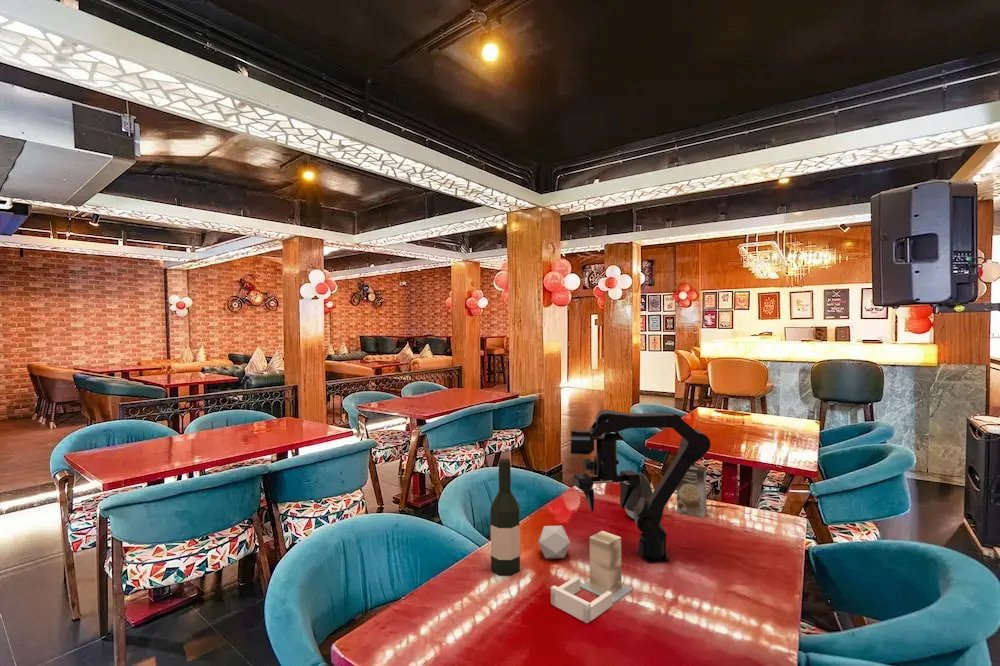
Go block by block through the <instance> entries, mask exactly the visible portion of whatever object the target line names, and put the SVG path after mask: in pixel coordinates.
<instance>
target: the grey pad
mask: <svg viewBox="0 0 1000 666" xmlns="http://www.w3.org/2000/svg"><path fill="white" fill-rule="evenodd" d="M580 589H581V590H582V589H583V590H584V591H587V592H588V593H591V594H593V595H595V596H597V597H599V596H601V595H602V594H603V593H601V592H599V591H597V590H594V589H592V588H590V579H589V580H587V581H585V582H584V583H582V584H580ZM633 590H634V588H633V587H631V586H629V585H627V584H624V583H622V588H620V589H619V590H617V591H616V592H614V593H613V594H612V604H616V603H617V602H618V601H620V600H621V599H623V598H624V597H625V596H627V595H628V594H629V593H631V592H633Z"/></svg>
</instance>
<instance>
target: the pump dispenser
mask: <svg viewBox="0 0 1000 666" xmlns="http://www.w3.org/2000/svg"><path fill="white" fill-rule="evenodd" d="M636 473H637V474H639V475H640V477H641V485H636V486H637V488H634V490H633V491H632V493H631V495H630V496H629V498H628V500H627V502H626V504H625V506H624V509H625V513H626V514H627V516H628V517H630V518H631V519H634V515H633V514H634V511H635V510H634V506H636V505H637V504H638V502H639V499H640V498H641V497H642V498H644V499H647V498H648V497H650V496H651V495H652V493H653V488H652V486H651V483H650V482H649V481H650V480H649V479H648V478H647V476H646V475H645V474H644V473H641V472H636ZM634 520H635V519H634Z"/></svg>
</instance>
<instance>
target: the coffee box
mask: <svg viewBox="0 0 1000 666" xmlns="http://www.w3.org/2000/svg"><path fill="white" fill-rule="evenodd" d="M676 513H677V514H682V515H687V516H693V517H696V518H701V519H703V518H705V516H706V513H707V466H700V465H694V464H692V465H691V467H690V468H689V470H688V471H687V473H686V474H685V476H684V477H683V479H682V481H681V482H680V484H679V485H678V487H677V488H676Z"/></svg>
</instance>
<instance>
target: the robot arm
mask: <svg viewBox="0 0 1000 666" xmlns="http://www.w3.org/2000/svg"><path fill="white" fill-rule="evenodd" d="M594 418H595V421H594V422H593V423H592V424H591V426H590V427H589V429H588V430H577V429H571V430H570V440H569V441H570V443H569V447H570V449H569V450H570V451H569V453H570V455H579V456H580V455H581V456H582V455H583V456H584V455H588V456H589V455H591V454H592V453H593V452H594V451H595V450H596V452H595V453H596V455H595V456H594V457H593V460H594V461H592V460H591V458H585V459H582V468H583V470H584V471H589V474H590V475H591V474H593V476H590V475H589V474H587V473H575V474H574V475H573V476H572V485H574V486H575V487H576V488H577V489H579V490H580V491H582V492H583V493H584V496H585V498H586V501H587V503H588V507H589V509H590V511H591V512H594V509H595V489H594V488H593V487H594V485H597V484H608V483H618V484H619V488H620V490H619V491H620V492H619V493H620V495H619V496H620V497H619V498H620V499H619V503H620V508H621V509H622V510H623V509H625V507H624V506H625V504H626V502H627V500H628V498H629V496H630V495H631V493H632V491H633V490H634V488H637V486H636V485H641V477H640V475H639V474H637V473H638V472H635V471H634V470H632V469H629V470H627V469H626V470H620V472H619V474H618V465H619V464H620V463H619V462H620V460H618V454H617V452H618V450H617V449H618V448H617V445H618V442H617V441H625V440H624V439H625V438H624V436H623V435H622V434H621V433H620V432H621V431H624V430H628V429H658V428H659V429H663V428H664V429H665V428H666V429H669V428H671V429H673V430H674V431H675V432H676V433H677V434H678V435H679V436H680V437H681V439H680V443H679V444H678V445H679V446H678V450H677V453H676V456H675V458H674V459H673V461H672V463H670V465H669V467H668V468H667V470H666V471H665V473H664V475H663V476H662V478H661V479H660V480H659V482H658V484H657V486H656V487H655V489H654V490H652V492H653V493H652V495H651V496H650V497H648V498H647V499H644V498H642V497H641V498H640V499H639V502H638V504H637V505H636V506H634V510H635V511H634V514H633V515H634V522H635V524H636V526H637V528H638V530H639V531H640V532H641V533H640V535H639V537H640V539H638V550H637V554H638V555H639V556H640V557H641V558H643V559H644V560H645V561H646V563H649V564H651V563H653V564H654V563H661V562H669V561H670V558H669V557H668V556H667V536H668V535H667V533H666V531H665V529H664V527H663V525H662V523H661V521H662V518H663V514H664V510H665V507H666V505H667V503H668V502H669V501H670V498H671V497H672V496H673V494H674V493H675V491H677V487H678V485H679V484H680V482H681V481H682V479H683V477H684V476H685V474H686V473H687V471H688V470H689V468H690V467H691V465H694V464H695V463H696V462H698V461H700V460H701V459H702V458H703V457H704V456H705V455H706V454H707V453H708V452H709V451H710V449H711V446H712V445H711V441H710V439H709V437H708V435H706V434H705V433H703V432H702V431H701V430H698V429H696V428H693V427H691V426H690V424H688V423H687V422H686V421H684V419H683V418H682V416H680V415H679V414H678V413H677V412H674V411H670V412H648V413H647V412H645V413H644V412H642V413H638V412H637V413H626V412H622V411H618V410H611V409H601V410H599V411H598V412H597V413H596V415H595V417H594ZM595 441H596V442H595ZM595 445H596V446H595ZM595 447H596V449H595Z"/></svg>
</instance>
